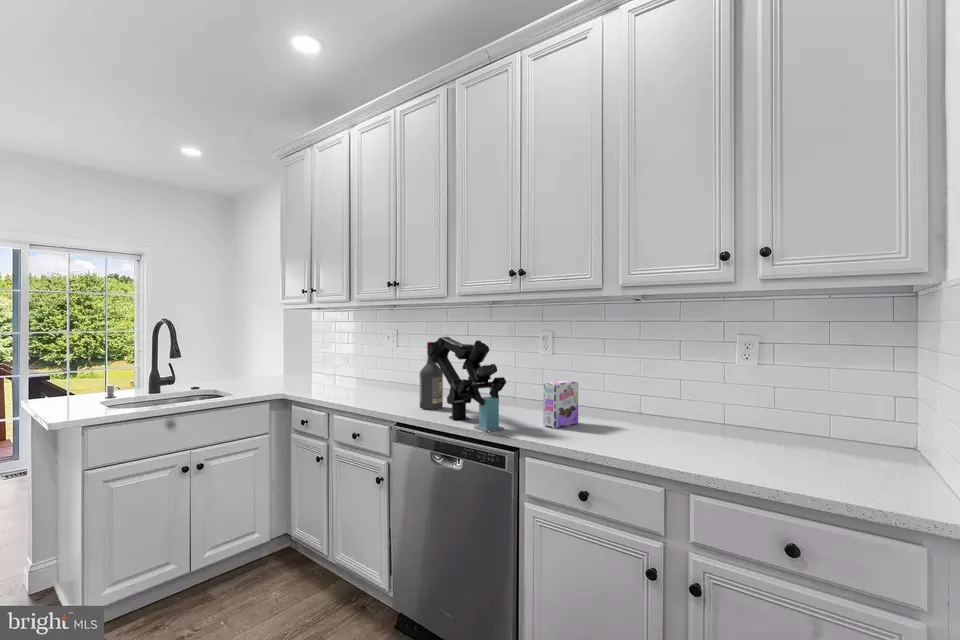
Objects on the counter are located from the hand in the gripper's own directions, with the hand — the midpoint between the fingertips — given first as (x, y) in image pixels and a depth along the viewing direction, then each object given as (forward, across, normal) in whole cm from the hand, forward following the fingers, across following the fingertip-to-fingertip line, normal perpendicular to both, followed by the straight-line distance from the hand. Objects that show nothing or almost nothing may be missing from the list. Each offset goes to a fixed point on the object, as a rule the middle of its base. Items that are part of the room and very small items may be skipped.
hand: (490, 404), depth 170 cm
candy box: (+12, +27, +2) cm, 30 cm away
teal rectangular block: (+5, 0, +7) cm, 9 cm away
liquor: (-29, +1, +43) cm, 52 cm away
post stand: (+6, 0, +8) cm, 9 cm away
